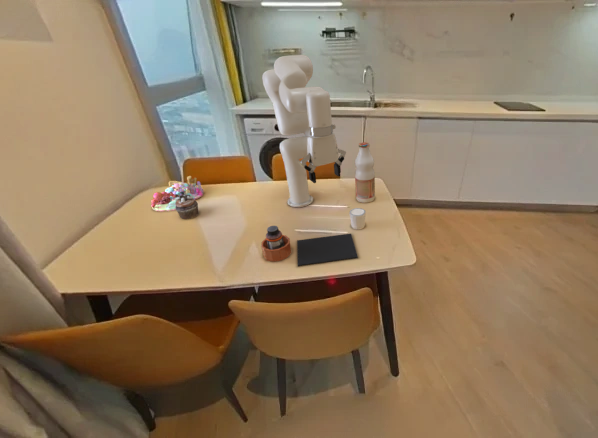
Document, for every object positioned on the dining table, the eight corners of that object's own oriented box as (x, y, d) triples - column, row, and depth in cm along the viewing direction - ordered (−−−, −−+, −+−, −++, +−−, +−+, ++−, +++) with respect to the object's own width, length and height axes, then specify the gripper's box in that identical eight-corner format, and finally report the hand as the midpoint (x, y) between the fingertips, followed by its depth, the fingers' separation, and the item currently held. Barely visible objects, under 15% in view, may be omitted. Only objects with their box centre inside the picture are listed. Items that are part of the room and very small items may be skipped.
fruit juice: (361, 204, 152) (359, 148, 137) (352, 197, 159) (350, 142, 145) (378, 200, 155) (378, 144, 141) (369, 193, 163) (368, 139, 148)
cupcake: (173, 218, 147) (166, 199, 142) (190, 208, 155) (183, 190, 150) (189, 221, 144) (182, 202, 139) (205, 211, 152) (199, 192, 147)
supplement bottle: (271, 248, 124) (265, 224, 118) (286, 247, 124) (281, 223, 118) (268, 258, 118) (262, 233, 113) (284, 257, 119) (279, 231, 113)
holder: (264, 246, 125) (262, 236, 122) (291, 243, 126) (289, 233, 124) (262, 263, 116) (260, 252, 114) (291, 259, 117) (289, 248, 115)
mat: (297, 241, 127) (297, 240, 127) (351, 234, 130) (351, 233, 130) (297, 266, 114) (297, 265, 113) (357, 258, 117) (357, 256, 116)
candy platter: (157, 194, 171) (151, 178, 166) (204, 185, 178) (199, 170, 173) (150, 215, 151) (143, 197, 146) (203, 204, 158) (198, 188, 153)
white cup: (364, 230, 132) (364, 216, 129) (348, 229, 134) (347, 215, 130) (367, 222, 138) (367, 208, 134) (352, 221, 139) (351, 207, 136)
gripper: (338, 124, 111) (341, 169, 120) (292, 133, 103) (299, 181, 112) (349, 128, 105) (351, 176, 114) (301, 138, 98) (308, 188, 106)
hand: (325, 178), depth 113 cm, fingers open, 9 cm apart
